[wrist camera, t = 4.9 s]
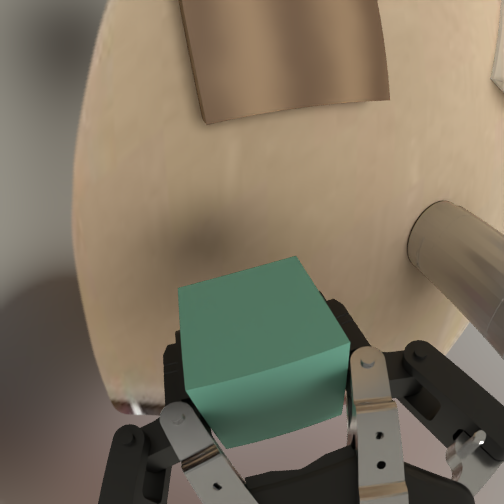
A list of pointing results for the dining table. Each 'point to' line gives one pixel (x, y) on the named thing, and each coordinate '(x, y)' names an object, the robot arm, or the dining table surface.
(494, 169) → the dining table surface
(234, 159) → the dining table surface
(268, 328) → the green cube
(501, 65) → the butter dish
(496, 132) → the dining table surface
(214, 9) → the walnut base
